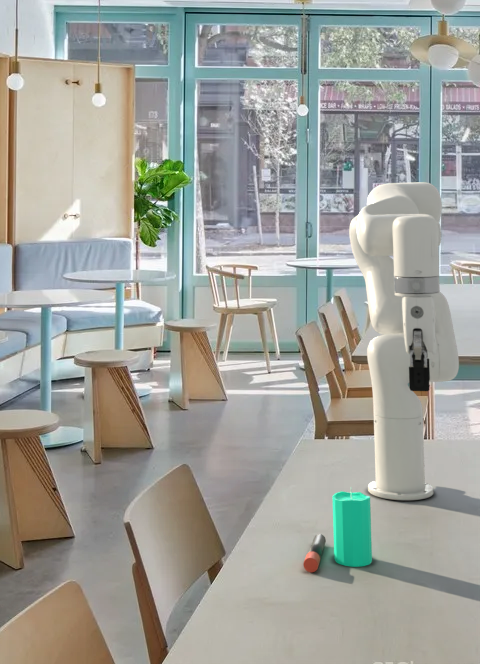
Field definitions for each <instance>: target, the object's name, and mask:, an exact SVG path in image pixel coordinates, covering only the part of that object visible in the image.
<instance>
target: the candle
mask: <svg viewBox="0 0 480 664" xmlns="http://www.w3.org/2000/svg"><path fill="white" fill-rule="evenodd" d="M350 489H352V486H350ZM331 497H332V498H331V499H332V529H333V559H334V561H335V563H337V564H339V565H341V566H345V567H353V568H359V567H366V566H369V565H371V564H372V563H373V547H372V545H373V543H372V542H373V541H372V514H371V512H372V511H371V496H369V495H366V494H364V493H363V492H361V491H357V492H356V491H355V492H352V490H350V492H349V491H342V490H341V491H338V492H335V493H333V495H332V496H331Z"/></svg>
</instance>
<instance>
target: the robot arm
mask: <svg viewBox="0 0 480 664" xmlns="http://www.w3.org/2000/svg"><path fill="white" fill-rule="evenodd" d="M442 202H443V201H442V197H441V194H440V191H439V190H438V188H437V186H435V185H433V184H432V183H431V182H426V181H420V182H416V181H415V182H414V181H413V182H389V183H388V182H387V183H383V184H379V185H378V186H375V187H374V188H373V189H372V190H371V191H370V192H369V194H368V196H367V199H366V206H363V207H362V208H361V210H360V211H359V213H358V215H356V216H354V217H353V218H352V219H351V221H350V222H349V223H350V224H349V228H348V229H349V242H350V247H351V251H352V255H353V257H354V260H355V262H356V264H357V266H358V268H359V270H360V272H361V274H362V276H363V279H364V282H365V290H366V298H367V306H368V307H367V308H368V314H369V320H370V324H371V327H372V329H373V330H374V331H375V332H376V333H377V334H379V335H377V336H376V337H373V338H372V339H371V340H370V341H369V343H368V345H367V348H366V357H367V359H366V360H367V364H368V370H369V374H370V383H371V391H372V407H373V409H372V410H373V434H374V435H373V437H374V438H373V440H374V470H375V480H373V481H370V482H369V483H368V485H367V491H368V493H369V494H371V495H372V496H375V497H377V498H381V499H386V500H392V501H419V500H424V499H428V498H430V497H432V496H433V495H434V487H433V486H432V484H429V483H428V482H426V479H425V478H426V473H425V470H426V469H425V443H424V411H423V404H422V401H421V400H420V398H419V397H418V395H417V394H416V393H415V392H429V391H430V383H442V382H443V383H444V382H445V383H446V382H450V381H452V380H454V379H455V378H456V377H457V376H458V373H459V368H460V360H459V359H460V358H459V352H458V346H457V341H456V335H455V330H454V324H453V320H452V314H451V310H450V305H449V302H448V300H447V298H446V296H445V295H444V294H443V293H442V292H441V288H440V261H439V260H440V259H439V246H440V245H441V243H442V228H441V224H440V221H441V216H442V209H443V203H442Z"/></svg>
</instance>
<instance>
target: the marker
mask: <svg viewBox="0 0 480 664" xmlns="http://www.w3.org/2000/svg"><path fill="white" fill-rule="evenodd" d="M326 542H327V539H326V537H325V535H323V534H321V533H317V534H315V535H314V536H313V540H312V542H311V544H310V548H309V551H308V552H307V553H306V555H305V558H304V560H303V563H302V564H303V568H304V570H305V571H307V572H308V573H316V571H317V570H318V568H319V567H320V566H319V565H320V562H321V558H322V556H323V555H322V554H323V552H324V549H325V546H326Z"/></svg>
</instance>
